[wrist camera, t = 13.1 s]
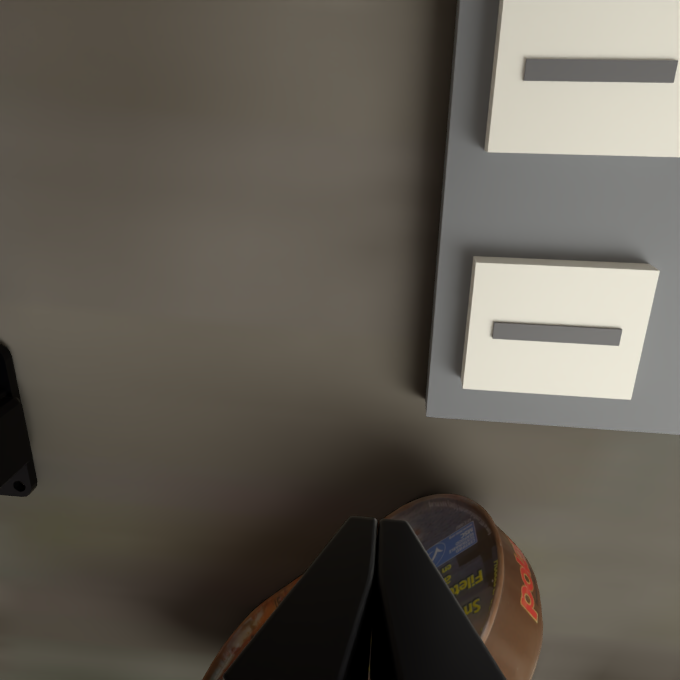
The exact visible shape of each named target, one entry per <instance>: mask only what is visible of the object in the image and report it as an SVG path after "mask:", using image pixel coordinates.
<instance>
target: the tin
mask: <svg viewBox="0 0 680 680" xmlns="http://www.w3.org/2000/svg"><path fill="white" fill-rule="evenodd" d="M383 519H396V520H405V521H407V522H408V523H409V524H410V526H411V527H412V529H413V531H414V532H415V534H416V535H417V537H418V539H419V540H420V542H421V543H422V545H423V547H424V548H425V550H426V551H427V553H428V555H429V556H430V558H431V559H432V561H433V563H434V564H435V566H436V567H437V569H438V570H439V572H440V574H441V575H442V577H443V578H444V580H445V582H446V583H447V585H448V586H449V588H450V590H451V591H452V593H453V594H454V596H455V598H456V599H457V601H458V602H459V604H460V606H461V607H462V609H463V610H464V612H465V614H466V615H467V617H468V618H469V620H470V622H471V623H472V625H473V626H474V628H475V630H476V631H477V633H478V634H479V636H480V638H481V639H482V641H483V642H484V644H485V646H486V647H487V649H488V650H489V652H490V654H491V655H492V657H493V658H494V660H495V661H496V663H497V665H498V666H499V668H500V669H501V671H502V673H503V674H504V676H505V677H506V679H507V680H531V679H532V676H533V673H534V670H535V667H536V664H537V661H538V657H539V654H540V649H541V645H542V636H543V621H542V611H541V602H540V594H539V589H538V585H537V581H536V578H535V575H534V572H533V570H532V568H531V566H530V564H529V562H528V560H527V559H526V557H525V556H524V554H523V553H522V551H521V550H520V549H519V548H518V547H517V546H516V544H515V543H514V542H513V541H512V540H511V539H510V538H509V537H508V536H507V535H506V534H505V533H504V532H503V531H502V530H501V529H500V528H499V527H497V526H496V525H495V523H494V521H493V520H492V518H491V516H490V515H489V514H488V513H487V511H486V510H485V509H484V508H483V507H481V506H480V505H479V504H478V503H476V502H474V501H473V500H471V499H469V498H467V497H464V496H461V495H456V494H435V495H430V496H426V497H422V498H419V499H417V500H414V501H412V502H409V503H408V504H406V505H403V506H401V507H400V508H398V509H397V510H395V511H394V512H392V513H391V514H389V515H388V516H386V517H385V518H383ZM378 523H379V522H378ZM301 577H302V575H301V576H300V577H298V578H297V579H295V580H294V581H293V582H291V583H290V584H288V585H287V586H285V587H284V588H282V589H281V590H279V591H278V592H276V593H275V594H274V595H272V596H271V597H269V598H268V599H267V600H265V601H264V602H263V603H261V604H260V605H259V606H258V607H257V608H256V609H255V610H253V611H252V612H251V613H250V614H249V615H248V616H247V618H246V619H245V620H244V621H243V622H242V623H241V624H240V625H239V626H238V627H237V629H236V630H235V631H234V632H233V633H232V635H231V636H230V637H229V639H228V640H227V641H226V643H225V644H224V645H223V647H222V648H221V649H220V651H219V653H218V654H217V656H216V657H215V659H214V660H213V662H212V664H211V665H210V667H209V669H208V671H207V672H206V674H205V676H204V677H203V679H202V680H219V679H223V674H224V673H225V672H226V670H227V669H228V668H229V667H230V665H231V664H232V663H233V662H234V660H235V659H236V658H237V657H238V655H239V654H240V653H241V652H242V650H243V649H244V648H245V647H246V645H247V644H248V643H249V642H250V640H251V639H252V638H253V637H254V635H255V634H256V633H257V632H258V630H259V629H260V628H261V627H262V625H263V624H264V623H265V622H266V620H267V619H268V618H269V617H270V615H271V614H272V613H273V612H274V610H275V609H276V608H277V607H278V605H279V604H280V603H281V602H282V600H283V599H284V598H285V597H286V595H287V594H288V593H289V592H290V590H291V589H292V588H293V587H294V585H295V584H296V583H297V582H298V580H299V579H300V578H301ZM371 636H372V635H371ZM370 654H371V650H370ZM369 678H370V665H369V676H368V680H369Z"/></svg>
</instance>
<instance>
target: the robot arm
mask: <svg viewBox="0 0 680 680" xmlns="http://www.w3.org/2000/svg"><path fill="white" fill-rule="evenodd" d="M21 482H22V483H23V484H24V485H23V484H22V483H21ZM36 486H37V478H36V473H35V469H34V464H33V459H32V452H31V447H30V442H29V438H28V433H27V428H26V423H25V418H24V413H23V408H22V404H21V400H20V395H19V390H18V385H17V380H16V375H15V370H14V365H13V361H12V356H11V354H10V351H9V350H8V349H7V348H6V347H5V346H3V345H2V344H0V495H8V496H19V497H24V496H28V495H29V494H30V493H31V492H32V491H33V490H34V489H35V488H36ZM371 635H372V636H371ZM370 650H371V654H370ZM369 665H370V678H369V680H507V679H506V677H505V676H504V674H503V673H502V671H501V669H500V668H499V666H498V665H497V663H496V661H495V660H494V658H493V657H492V655H491V654H490V652H489V650H488V649H487V647H486V646H485V644H484V642H483V641H482V639H481V638H480V636H479V634H478V633H477V631H476V630H475V628H474V626H473V625H472V623H471V622H470V620H469V618H468V617H467V615H466V614H465V612H464V610H463V609H462V607H461V606H460V604H459V602H458V601H457V599H456V598H455V596H454V594H453V593H452V591H451V590H450V588H449V586H448V585H447V583H446V582H445V580H444V578H443V577H442V575H441V574H440V572H439V570H438V569H437V567H436V566H435V564H434V563H433V561H432V559H431V558H430V556H429V555H428V553H427V551H426V550H425V548H424V547H423V545H422V543H421V542H420V540H419V539H418V537H417V535H416V534H415V532H414V531H413V529H412V527H411V526H410V524H409V523H408V522H407V521H405V520H396V519H381V520H380V521H379V523H378V521H377V519H375V518H373V517H361V516H351V517H349V518H348V519H347V520H346V521H345V523H344V524H343V525H342V526H341V528H340V529H339V530H338V531H337V533H336V534H335V535H334V536H333V538H332V539H331V540H330V541H329V543H328V544H327V545H326V547H325V548H324V549H323V550H322V552H321V553H320V554H319V555H318V557H317V558H316V559H315V560H314V562H313V563H312V564H311V565H310V567H309V568H308V569H307V570H306V572H305V573H304V574H303V575H302V577H301V578H300V579H299V580H298V582H297V583H296V584H295V585H294V587H293V588H292V589H291V590H290V592H289V593H288V594H287V595H286V597H285V598H284V599H283V600H282V602H281V603H280V604H279V605H278V607H277V608H276V609H275V610H274V612H273V613H272V614H271V615H270V617H269V618H268V619H267V620H266V622H265V623H264V624H263V625H262V627H261V628H260V629H259V630H258V632H257V633H256V634H255V635H254V637H253V638H252V639H251V640H250V642H249V643H248V644H247V645H246V647H245V648H244V649H243V650H242V652H241V653H240V654H239V655H238V657H237V658H236V659H235V660H234V662H233V663H232V664H231V665H230V667H229V668H228V669H227V670H226V672H225V673H224V674H223V679H219V680H368V676H369Z"/></svg>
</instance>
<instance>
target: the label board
mask: <svg viewBox="0 0 680 680" xmlns="http://www.w3.org/2000/svg"><path fill="white" fill-rule="evenodd" d="M425 402H426V417H437V418H451V419H465V420H479V421H493V422H508V423H522V424H536V425H550V426H564V427H578V428H593V429H607V430H621V431H635V432H649V433H663V434H677V435H680V0H457V11H456V24H455V36H454V49H453V62H452V74H451V87H450V99H449V112H448V124H447V137H446V149H445V162H444V174H443V187H442V199H441V212H440V224H439V237H438V249H437V262H436V274H435V287H434V299H433V312H432V324H431V337H430V349H429V362H428V374H427V387H426V399H425Z"/></svg>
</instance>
